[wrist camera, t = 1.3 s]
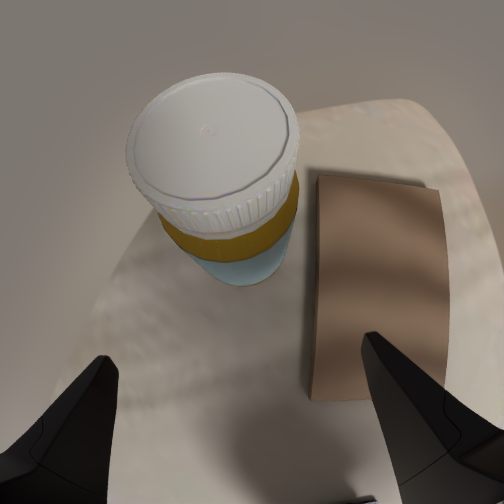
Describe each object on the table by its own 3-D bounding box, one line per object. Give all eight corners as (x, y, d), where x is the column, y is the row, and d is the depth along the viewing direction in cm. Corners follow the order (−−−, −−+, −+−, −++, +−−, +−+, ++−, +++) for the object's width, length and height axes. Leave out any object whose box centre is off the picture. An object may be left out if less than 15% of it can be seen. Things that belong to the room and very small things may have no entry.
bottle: (184, 246, 24) (86, 147, 9) (243, 189, 25) (217, 47, 10) (242, 305, 22) (198, 275, 8) (303, 243, 23) (352, 127, 9)
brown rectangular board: (435, 386, 20) (443, 389, 18) (308, 396, 20) (310, 401, 19) (431, 196, 24) (438, 190, 22) (316, 182, 25) (318, 174, 23)
